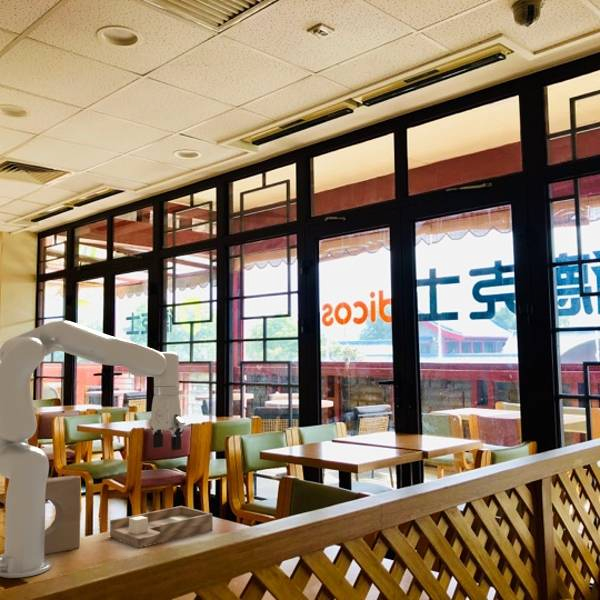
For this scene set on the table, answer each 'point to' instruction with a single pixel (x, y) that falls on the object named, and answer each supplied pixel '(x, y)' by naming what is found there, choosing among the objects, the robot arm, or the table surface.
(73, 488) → the decorative block
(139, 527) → the ivory block
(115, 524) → the box
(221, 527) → the table surface
